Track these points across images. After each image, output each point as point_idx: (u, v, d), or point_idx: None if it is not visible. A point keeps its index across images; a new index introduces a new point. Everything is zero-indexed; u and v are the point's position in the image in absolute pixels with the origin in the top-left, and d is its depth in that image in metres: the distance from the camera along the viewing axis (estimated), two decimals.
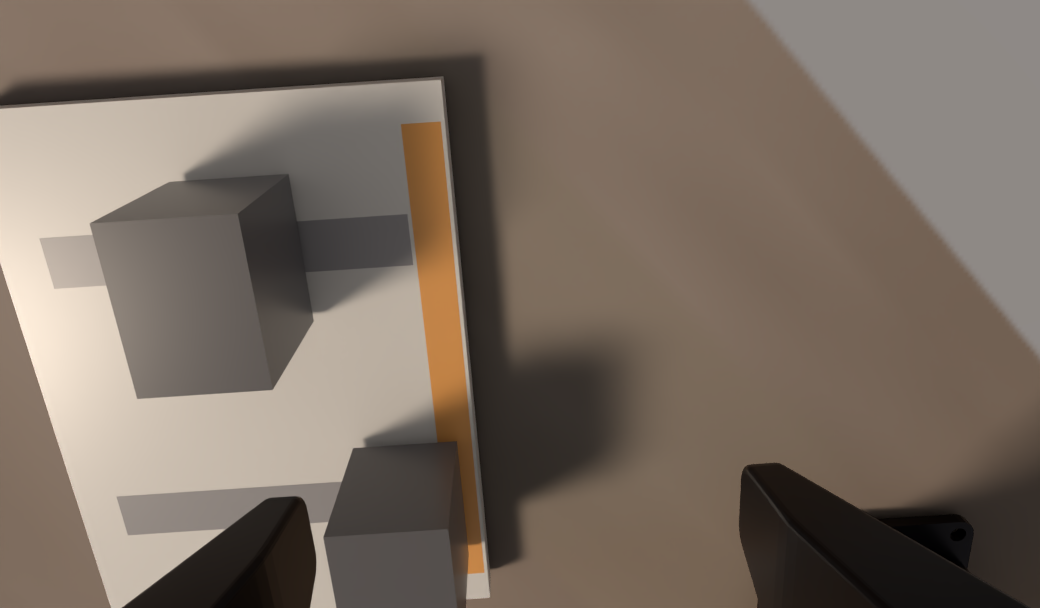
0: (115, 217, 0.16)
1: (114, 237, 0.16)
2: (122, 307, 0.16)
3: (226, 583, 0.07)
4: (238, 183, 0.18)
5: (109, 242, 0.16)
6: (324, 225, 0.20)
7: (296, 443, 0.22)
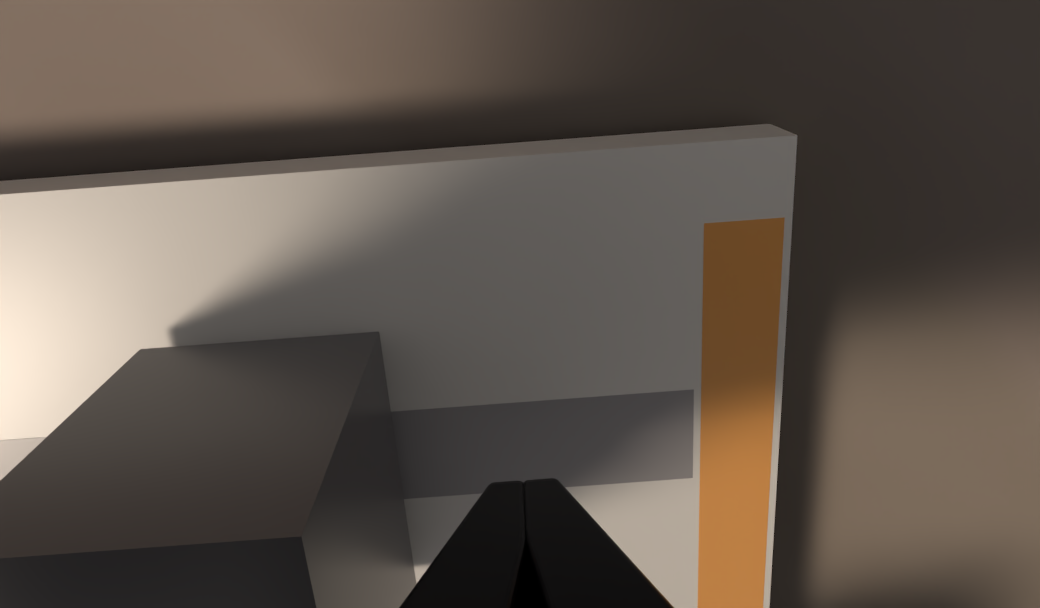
0: None
1: None
2: None
3: (508, 563, 0.07)
4: (282, 364, 0.09)
5: None
6: (533, 411, 0.10)
7: None
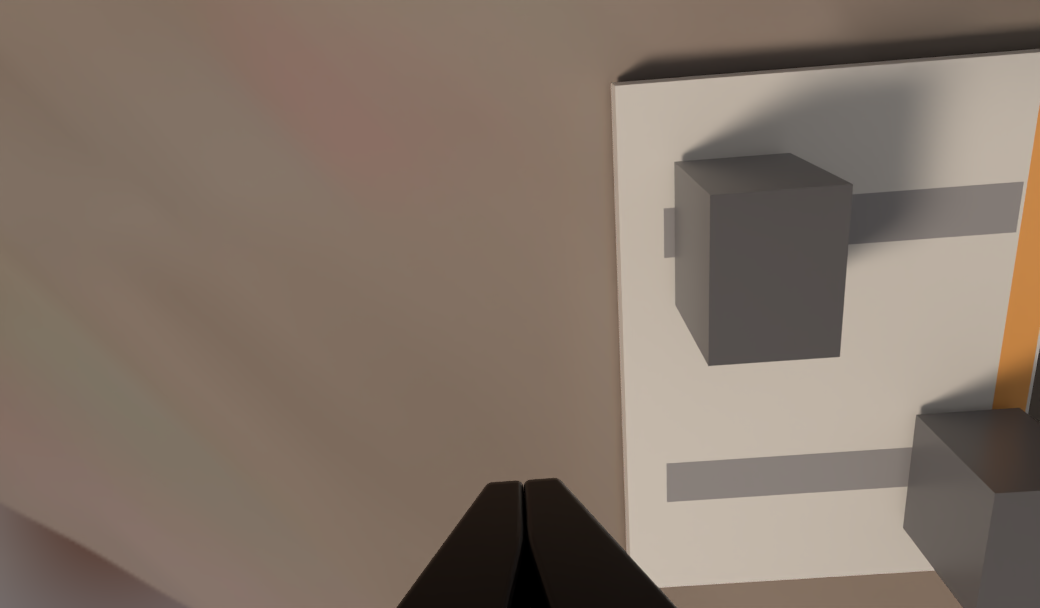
0: (721, 189, 0.17)
1: (729, 208, 0.16)
2: (718, 276, 0.17)
3: (505, 563, 0.07)
4: (759, 161, 0.19)
5: (724, 213, 0.16)
6: (940, 192, 0.21)
7: (854, 410, 0.23)
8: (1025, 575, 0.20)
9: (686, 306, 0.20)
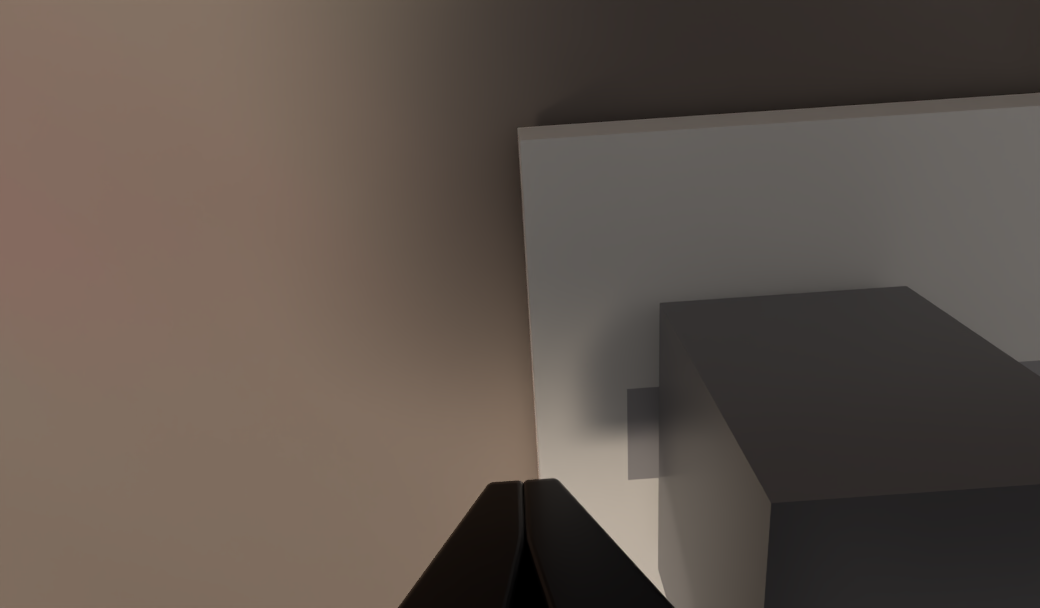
0: (798, 469, 0.06)
1: (825, 537, 0.06)
2: None
3: (507, 563, 0.07)
4: (851, 316, 0.09)
5: (808, 548, 0.06)
6: None
7: None
8: None
9: None
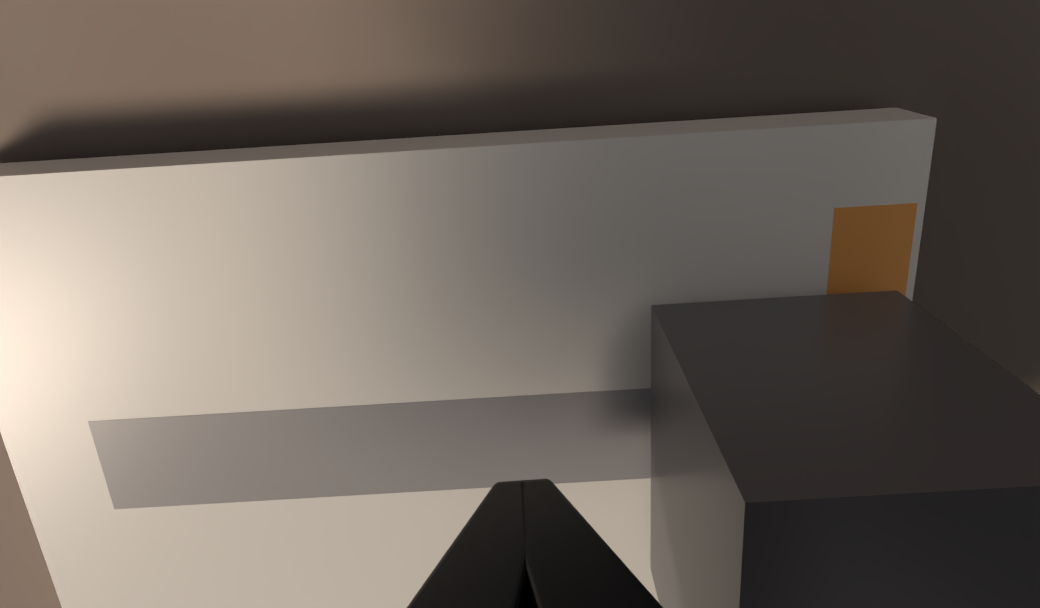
0: (774, 470, 0.06)
1: (797, 535, 0.06)
2: None
3: (515, 563, 0.07)
4: (839, 320, 0.09)
5: (783, 545, 0.06)
6: (646, 398, 0.10)
7: None
8: None
9: None
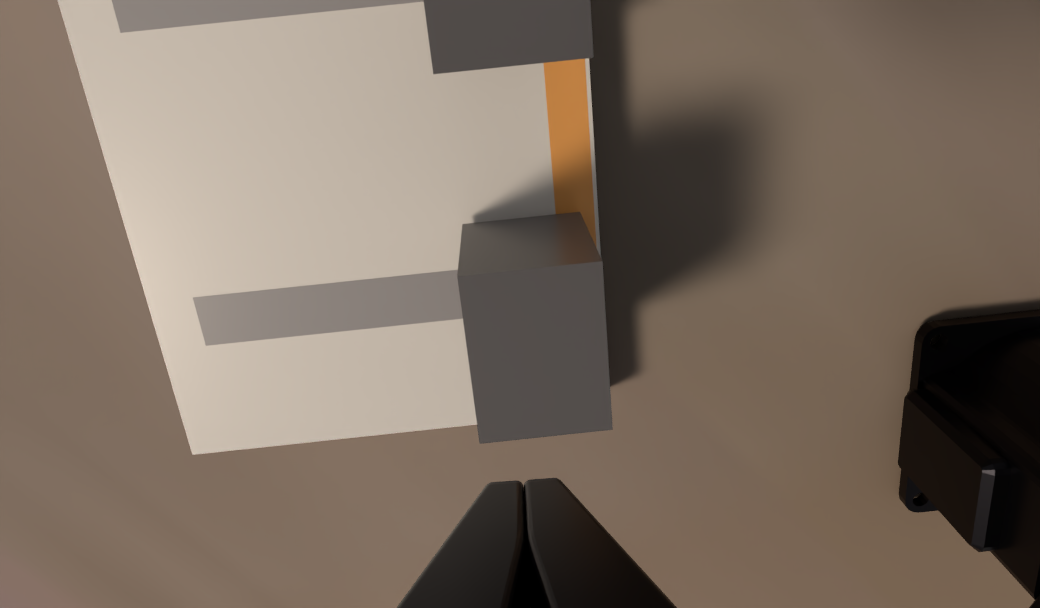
0: None
1: None
2: None
3: (505, 563, 0.07)
4: None
5: None
6: None
7: (396, 224, 0.20)
8: (523, 381, 0.17)
9: None
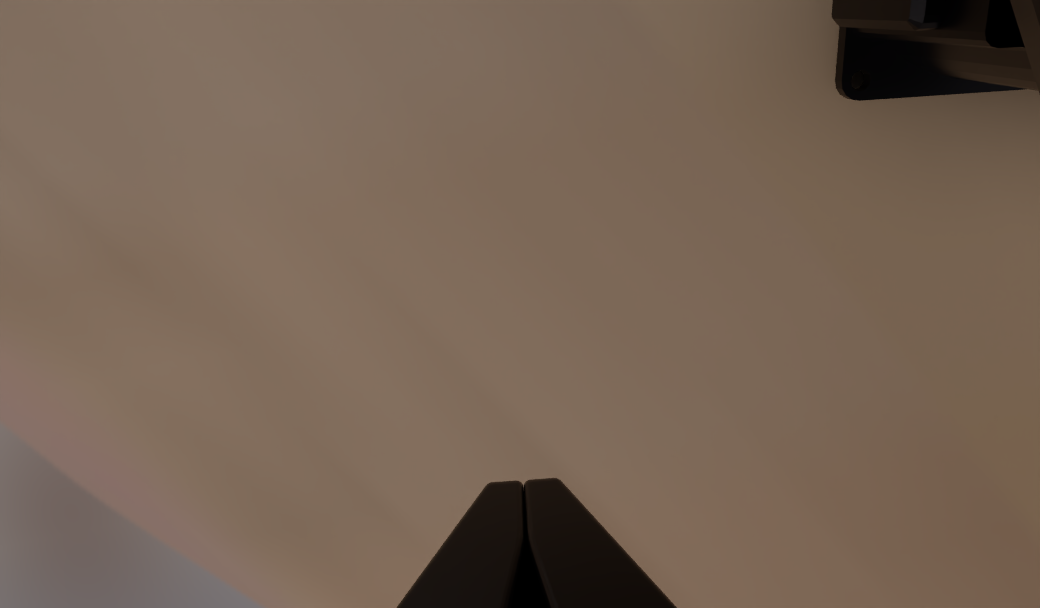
0: None
1: None
2: None
3: (505, 564, 0.07)
4: None
5: None
6: None
7: None
8: None
9: None
